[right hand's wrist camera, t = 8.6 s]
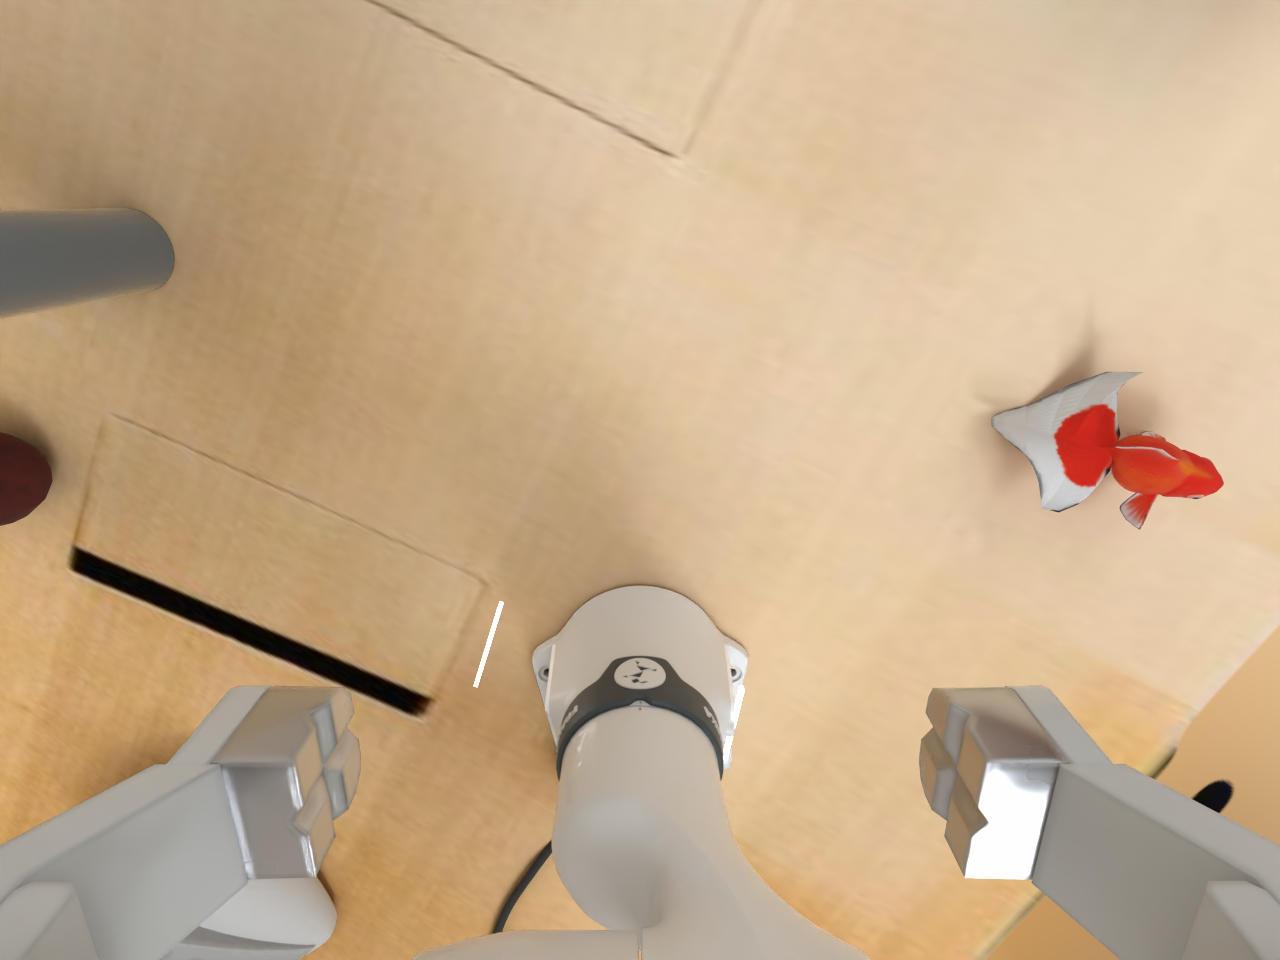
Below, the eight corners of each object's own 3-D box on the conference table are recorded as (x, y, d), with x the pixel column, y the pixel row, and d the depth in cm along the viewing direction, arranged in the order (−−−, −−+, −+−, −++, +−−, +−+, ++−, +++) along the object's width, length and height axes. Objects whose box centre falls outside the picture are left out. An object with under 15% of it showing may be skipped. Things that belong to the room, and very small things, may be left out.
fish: (1128, 582, 58) (1198, 575, 49) (948, 470, 62) (979, 443, 53) (1205, 469, 59) (1289, 440, 49) (1021, 365, 63) (1065, 319, 53)
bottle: (82, 208, 53) (-315, 214, 31) (164, 207, 53) (-175, 212, 31) (103, 292, 55) (-255, 354, 33) (182, 291, 55) (-124, 352, 33)
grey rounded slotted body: (126, 925, 77) (15, 1081, 64) (94, 744, 69) (-40, 879, 56) (343, 942, 78) (280, 1100, 64) (337, 766, 70) (263, 903, 57)
